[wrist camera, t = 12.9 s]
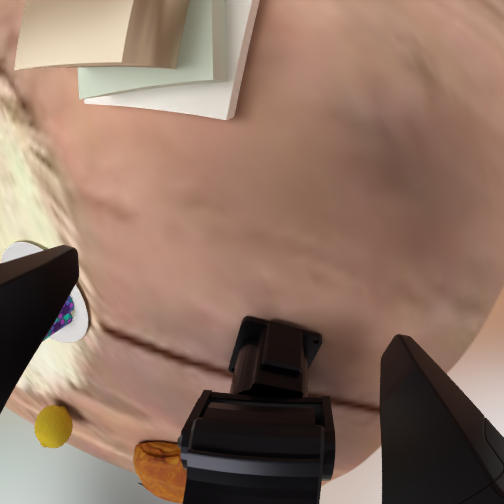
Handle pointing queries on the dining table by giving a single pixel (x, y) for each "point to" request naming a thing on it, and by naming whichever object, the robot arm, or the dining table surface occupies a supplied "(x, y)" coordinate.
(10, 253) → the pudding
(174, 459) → the croissant
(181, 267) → the dining table surface
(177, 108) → the base block
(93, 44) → the birch cube
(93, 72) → the sage green block
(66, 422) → the lemon
